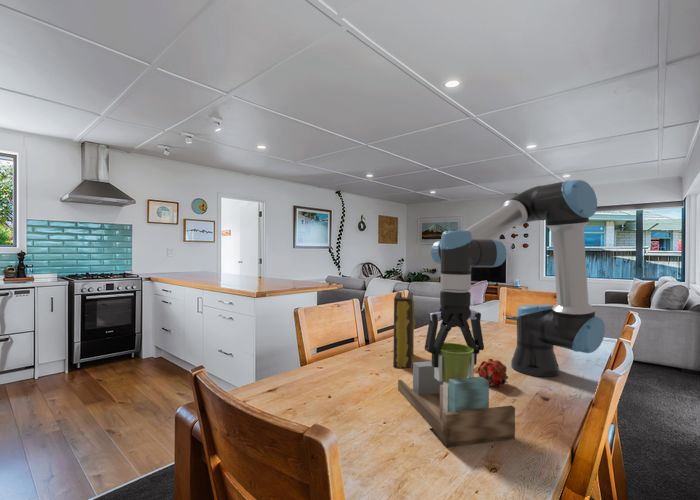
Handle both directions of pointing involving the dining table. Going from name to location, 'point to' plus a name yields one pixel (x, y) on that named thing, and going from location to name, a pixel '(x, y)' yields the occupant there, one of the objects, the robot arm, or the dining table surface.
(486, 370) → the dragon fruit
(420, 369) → the bookend
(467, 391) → the book rack
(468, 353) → the plant pot
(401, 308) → the book
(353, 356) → the dining table surface
